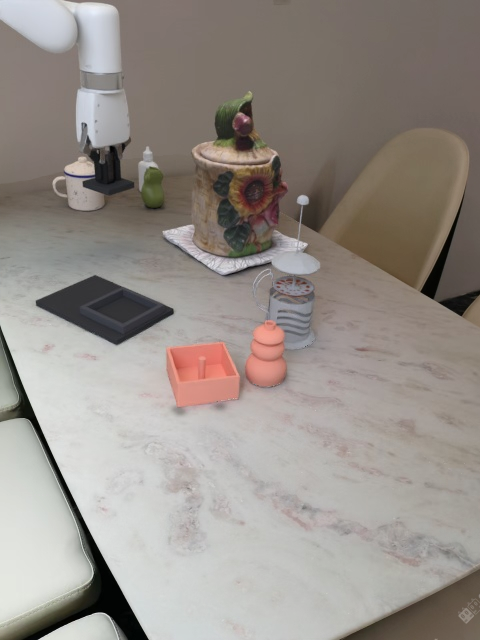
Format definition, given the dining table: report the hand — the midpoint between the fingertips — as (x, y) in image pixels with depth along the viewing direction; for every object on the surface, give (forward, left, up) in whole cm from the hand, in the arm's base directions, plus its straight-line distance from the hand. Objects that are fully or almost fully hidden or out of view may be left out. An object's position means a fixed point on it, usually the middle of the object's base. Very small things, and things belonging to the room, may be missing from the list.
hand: (108, 179), depth 120 cm
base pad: (+18, -19, -15) cm, 30 cm away
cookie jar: (+18, +20, -15) cm, 31 cm away
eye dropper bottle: (-19, +32, -15) cm, 40 cm away
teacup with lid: (-24, +13, -15) cm, 31 cm away
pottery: (+48, -22, -15) cm, 55 cm away
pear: (-11, +25, -15) cm, 31 cm away
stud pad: (0, 0, -2) cm, 2 cm away
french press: (+47, -5, -15) cm, 49 cm away
